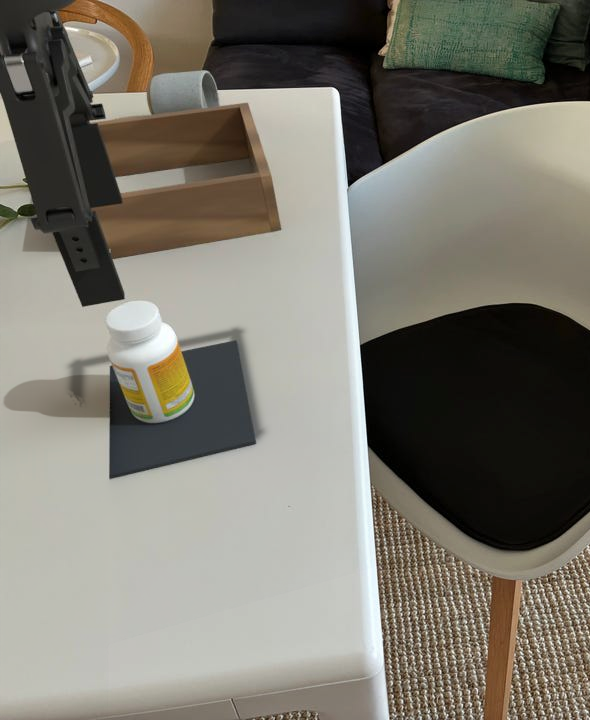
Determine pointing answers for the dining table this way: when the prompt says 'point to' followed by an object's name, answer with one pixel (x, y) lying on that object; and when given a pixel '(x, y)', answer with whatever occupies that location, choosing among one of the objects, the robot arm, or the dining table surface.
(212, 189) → the wooden box
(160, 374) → the supplement bottle
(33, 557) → the dining table surface
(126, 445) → the slate mat
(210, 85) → the ceramic mug
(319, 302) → the dining table surface
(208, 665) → the dining table surface
